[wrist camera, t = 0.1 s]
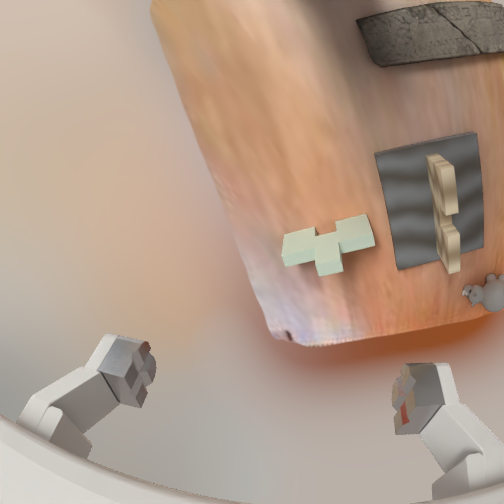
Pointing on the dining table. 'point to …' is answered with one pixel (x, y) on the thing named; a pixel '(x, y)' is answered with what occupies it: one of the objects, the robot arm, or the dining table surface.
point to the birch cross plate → (434, 200)
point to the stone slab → (434, 32)
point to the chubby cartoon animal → (487, 293)
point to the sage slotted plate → (327, 244)
